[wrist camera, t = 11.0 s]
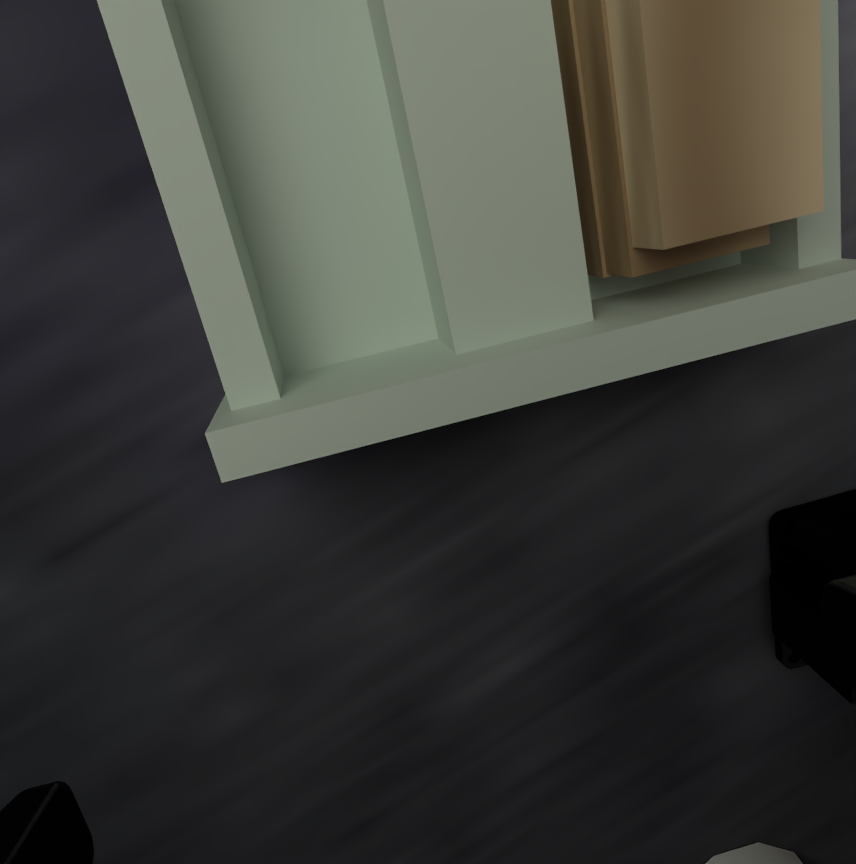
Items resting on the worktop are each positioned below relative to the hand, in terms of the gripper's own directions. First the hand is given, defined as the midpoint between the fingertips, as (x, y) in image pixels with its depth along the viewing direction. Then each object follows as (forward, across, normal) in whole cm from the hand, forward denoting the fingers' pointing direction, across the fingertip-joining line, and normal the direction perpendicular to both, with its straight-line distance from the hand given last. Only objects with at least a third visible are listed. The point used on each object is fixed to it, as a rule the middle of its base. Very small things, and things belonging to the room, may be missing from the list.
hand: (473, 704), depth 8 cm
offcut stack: (+12, -8, -8) cm, 17 cm away
